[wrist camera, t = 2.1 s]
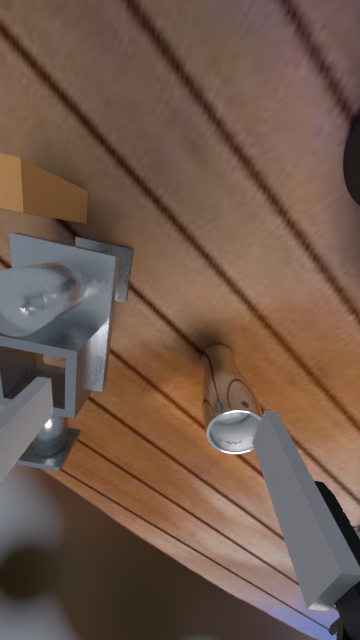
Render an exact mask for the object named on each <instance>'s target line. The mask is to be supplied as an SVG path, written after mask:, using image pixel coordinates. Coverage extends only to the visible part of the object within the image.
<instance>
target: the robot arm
mask: <svg viewBox="0 0 360 640" xmlns="http://www.w3.org/2000/svg"><path fill="white" fill-rule="evenodd" d="M344 172H345V179H346V183H347V187H348V189H349V191H350V193H351V195H352V197H353V198H354V200H355V201H356V202H357V203H358V204H359V205H360V114H359V115H358V117H357V119H356V121H355V123H354V125H353V128H352V130H351V133H350V136H349V139H348V142H347V146H346V151H345V160H344ZM53 413H54V412H53V399H52V386H51V378H45V377H37V378H36V379H35V380H33V381H32V382H31V383H30V384H29V385H28V386H27V387H26V388H25V389H24V390H23V391H21V392H20V393H19V394H18V395H17V396H16V397H15V398H14V399H13V400H12V401H11V402H10V403H8V404H7V405H6V406H5V407H4V408H3V409H2V410H1V411H0V483H1V482H2V480H3V479H4V478H5V476H6V475H7V474H8V472H9V471H10V470H11V468H12V467H13V466H14V464H15V463H16V462H17V461H18V459H19V458H20V457H21V455H22V454H23V453H24V451H25V450H26V449H27V447H28V446H29V445H30V444H31V442H32V441H33V440H34V438H35V437H36V436H37V434H38V433H39V432H40V430H41V429H42V428H43V427H44V425H45V424H46V423H47V421H48V420H49V419H50V417H51V416H52V415H53ZM252 443H253V446H254V449H255V452H256V455H257V458H258V461H259V464H260V467H261V470H262V473H263V476H264V479H265V482H266V485H267V488H268V491H269V494H270V497H271V500H272V503H273V506H274V509H275V512H276V515H277V518H278V521H279V524H280V527H281V530H282V533H283V536H284V539H285V542H286V546H287V549H288V552H289V555H290V558H291V561H292V564H293V567H294V570H295V573H296V576H297V579H298V582H299V585H300V588H301V591H302V594H303V597H304V600H305V603H306V606H307V609H313V610H321V611H328V610H329V609H331V608H332V607H333V606H334V605H336V608H337V610H338V612H339V615H340V617H339V618H338V619H337V620H336V621H335V622H334V623H333V624H332V625H331V626H330V629H329V633H330V634H331V635H334V634H335V633H336V632H337V640H360V539H359V537H358V535H357V533H356V532H355V530H354V528H353V527H352V525H350V521H349V520H348V518H347V516H346V515H345V513H343V509H342V508H341V506H340V504H339V503H338V501H337V499H336V497H335V496H334V494H333V493H332V492H331V491H330V490H329V489H328V488H327V486H326V485H325V484H324V483H323V482H318V481H314V480H313V479H312V477H311V475H310V473H309V471H308V469H307V467H306V465H305V464H304V462H303V460H302V458H301V456H300V454H299V452H298V450H297V449H296V447H295V445H294V443H293V441H292V439H291V437H290V435H289V434H288V432H287V430H286V428H285V426H284V424H283V422H282V420H281V419H280V417H279V415H278V413H277V412H272V411H265V412H264V415H263V417H262V419H261V422H260V424H259V427H258V429H257V432H256V434H255V436H254V439H253V441H252Z"/></svg>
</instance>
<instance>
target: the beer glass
mask: <svg viewBox="0 0 360 640" xmlns="http://www.w3.org/2000/svg"><path fill="white" fill-rule="evenodd" d="M200 362H201V366H202V368H203V370H204V380H203V387H202V411H203V418H204V424H205V428H206V436H207V439H208V441H209V443H210V444H211V446H212V447H214V448H215V449H216V450H218V451H220V452H223V453H227V454H244V453H247V452H250V451H253V450H254V446H253V443H252V441H253V439H254V436H255V434H256V432H257V429H258V427H259V424H260V422H261V419H262V417H263V415H262V412H261V409H260V406H259V403H258V401H257V398H256V396H255V394H254V392H253V390H252V388H251V386H250V384H249V383H248V381H247V380H246V379H245V377H244V376H243V374H242V373H241V372H240V371H239V369H238V368H237V366H236V359H235V354H234V352H233V351H232V350H231V349H230V348H229V347H228V346H226V345H222V344H215V345H211V346H209V347H207V348H206V349H205V350H204V351H203V353H202V354H201V358H200Z"/></svg>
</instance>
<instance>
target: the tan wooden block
mask: <svg viewBox="0 0 360 640" xmlns="http://www.w3.org/2000/svg"><path fill="white" fill-rule="evenodd" d="M0 208H4V209H8V210H13V211H17V212H21V213H26V214H32V215H38V216H44V217H50V218H56V219H62V220H68V221H75V222H81V223H87V208H88V191H87V190H84V189H82V188H80V187H78V186H76V185H74V184H72V183H70V182H68V181H66V180H64V179H62V178H60V177H58V176H56V175H54V174H52V173H50V172H48V171H46V170H44V169H42V168H40V167H38V166H36V165H34V164H32V163H30V162H28V161H26V160H24V159H22V158H19V157H15V156H11V155H7V154H3V153H0Z"/></svg>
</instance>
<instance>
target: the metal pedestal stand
mask: <svg viewBox="0 0 360 640" xmlns="http://www.w3.org/2000/svg"><path fill="white" fill-rule="evenodd" d="M9 237H10V249H11V262H12V268H11V269H4V270H0V332H1V333H3V334H6V335H9V336H15V337H21V336H27V335H29V334H31V333H33V332H35V331H36V330H38V329H40V328H41V327H43V326H45V325H46V324H48V323H50V322H51V321H53V320H57V321H62V322H67V323H72V324H76V325H81V326H86V327H91V328H95V329H99V338H98V350H97V362H96V375H95V387H94V389H93V390H95V391H100V392H102V391H103V390H104V388H105V386H106V379H107V369H108V360H109V351H110V341H111V332H112V322H113V313H114V303H115V301H119V302H124V303H126V302H127V298H128V291H129V283H130V275H131V267H132V260H133V252H134V249H130V248H125V247H121V246H117V245H112V244H108V243H104V242H99V241H95V240H91V239H86V238H82V237H76V238H75V246H74V245H70V244H65V243H61V242H57V241H52V240H48V239H44V238H39V237H35V236H31V235H26V234H22V233H11V232H9ZM36 361H37V369H39V370H44V371H49V372H54V373H59V374H64V375H65V368H63V367H58V366H53V365H48V364H43V354H39V353H36Z"/></svg>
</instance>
